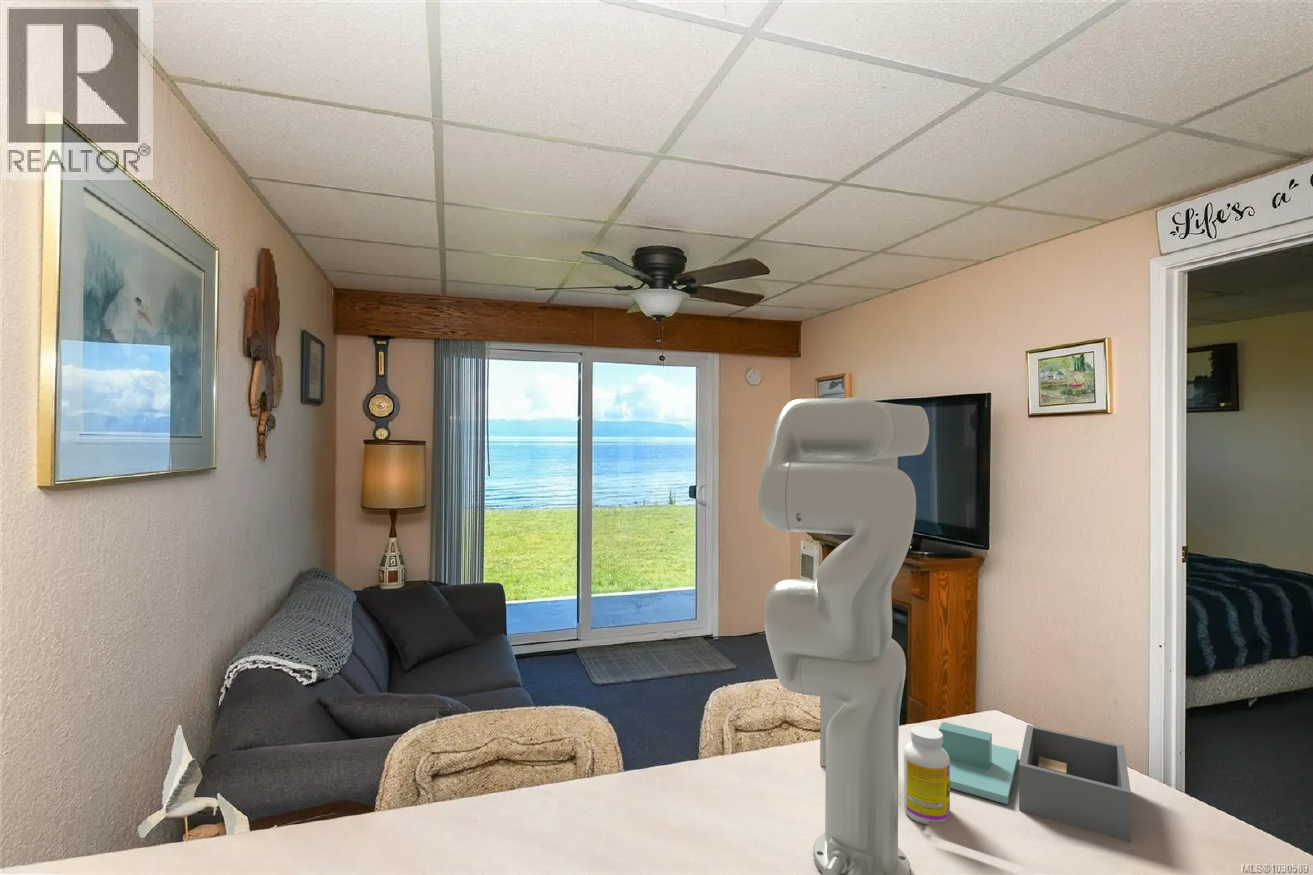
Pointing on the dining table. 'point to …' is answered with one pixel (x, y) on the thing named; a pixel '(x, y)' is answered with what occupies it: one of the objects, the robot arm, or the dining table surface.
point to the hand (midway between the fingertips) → (874, 579)
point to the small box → (826, 722)
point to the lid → (978, 763)
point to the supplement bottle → (926, 776)
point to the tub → (1076, 782)
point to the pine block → (1052, 765)
